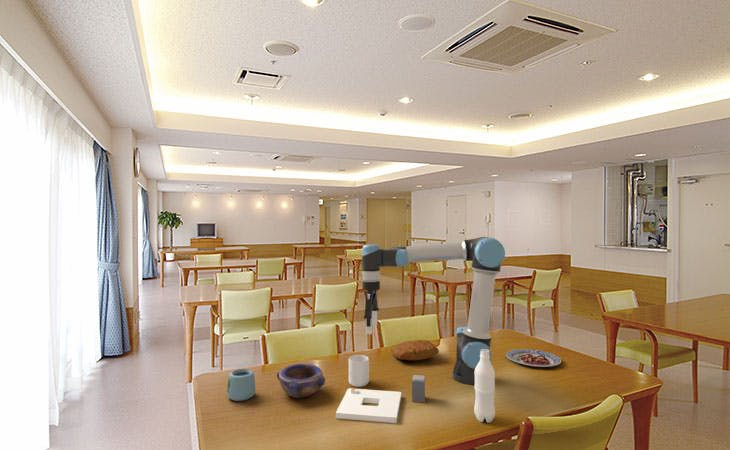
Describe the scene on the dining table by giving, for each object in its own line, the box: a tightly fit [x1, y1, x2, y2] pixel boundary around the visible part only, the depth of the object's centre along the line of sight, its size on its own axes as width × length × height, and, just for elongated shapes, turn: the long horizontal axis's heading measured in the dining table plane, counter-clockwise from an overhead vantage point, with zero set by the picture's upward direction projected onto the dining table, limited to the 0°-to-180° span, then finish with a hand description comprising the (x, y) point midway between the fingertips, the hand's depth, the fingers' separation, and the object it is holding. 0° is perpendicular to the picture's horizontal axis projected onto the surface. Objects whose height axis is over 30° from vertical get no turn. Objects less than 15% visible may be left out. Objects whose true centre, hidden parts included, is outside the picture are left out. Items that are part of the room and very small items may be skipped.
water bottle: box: [473, 349, 496, 424], centre depth 148 cm, size 7×7×25 cm
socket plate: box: [335, 388, 402, 424], centre depth 158 cm, size 22×22×3 cm
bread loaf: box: [390, 339, 440, 361], centre depth 213 cm, size 22×17×8 cm
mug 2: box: [348, 354, 370, 388], centre depth 182 cm, size 12×9×11 cm
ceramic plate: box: [506, 348, 562, 368], centre depth 210 cm, size 26×26×3 cm
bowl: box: [276, 362, 326, 399], centre depth 170 cm, size 18×18×10 cm
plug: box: [411, 374, 426, 403], centre depth 165 cm, size 5×5×9 cm
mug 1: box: [226, 368, 257, 402], centre depth 169 cm, size 15×11×10 cm
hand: (371, 329), depth 177 cm, fingers open, 13 cm apart
